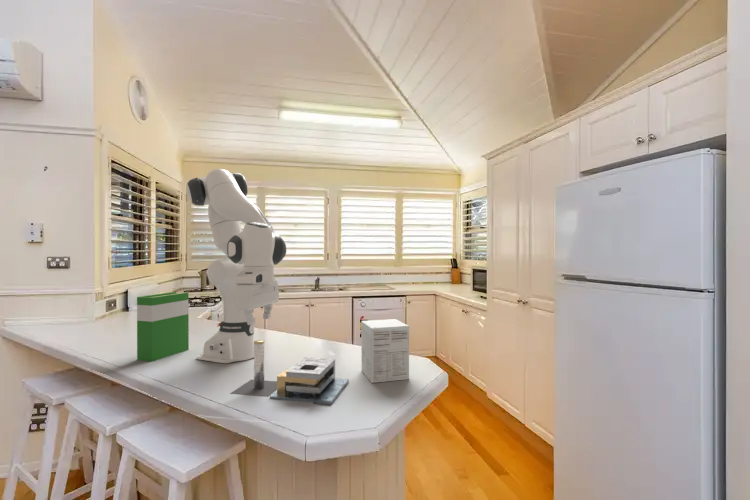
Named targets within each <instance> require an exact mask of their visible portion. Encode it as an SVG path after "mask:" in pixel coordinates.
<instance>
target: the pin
mask: <svg viewBox="0 0 750 500" xmlns="http://www.w3.org/2000/svg"><path fill="white" fill-rule="evenodd" d="M253 380H254V389H263V388H264V380H265V340H264V339H262V340H261V339H259V340H258V339H257V340H254V358H253Z"/></svg>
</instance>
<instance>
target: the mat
mask: <svg viewBox="0 0 750 500" xmlns="http://www.w3.org/2000/svg"><path fill="white" fill-rule="evenodd" d="M276 391H277V380H265V379H264V388H263V389H254V379H249V380H248V381H247V382H245V383H243V384H242V385H240V386H239V387H237V388H236V389H234V390H233V391H232V392H230V393H229V394H231V395H243V396H254V397H255V396H256V397H267V398H270V396H271V395H272V394H273V393H274V392H276Z"/></svg>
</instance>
